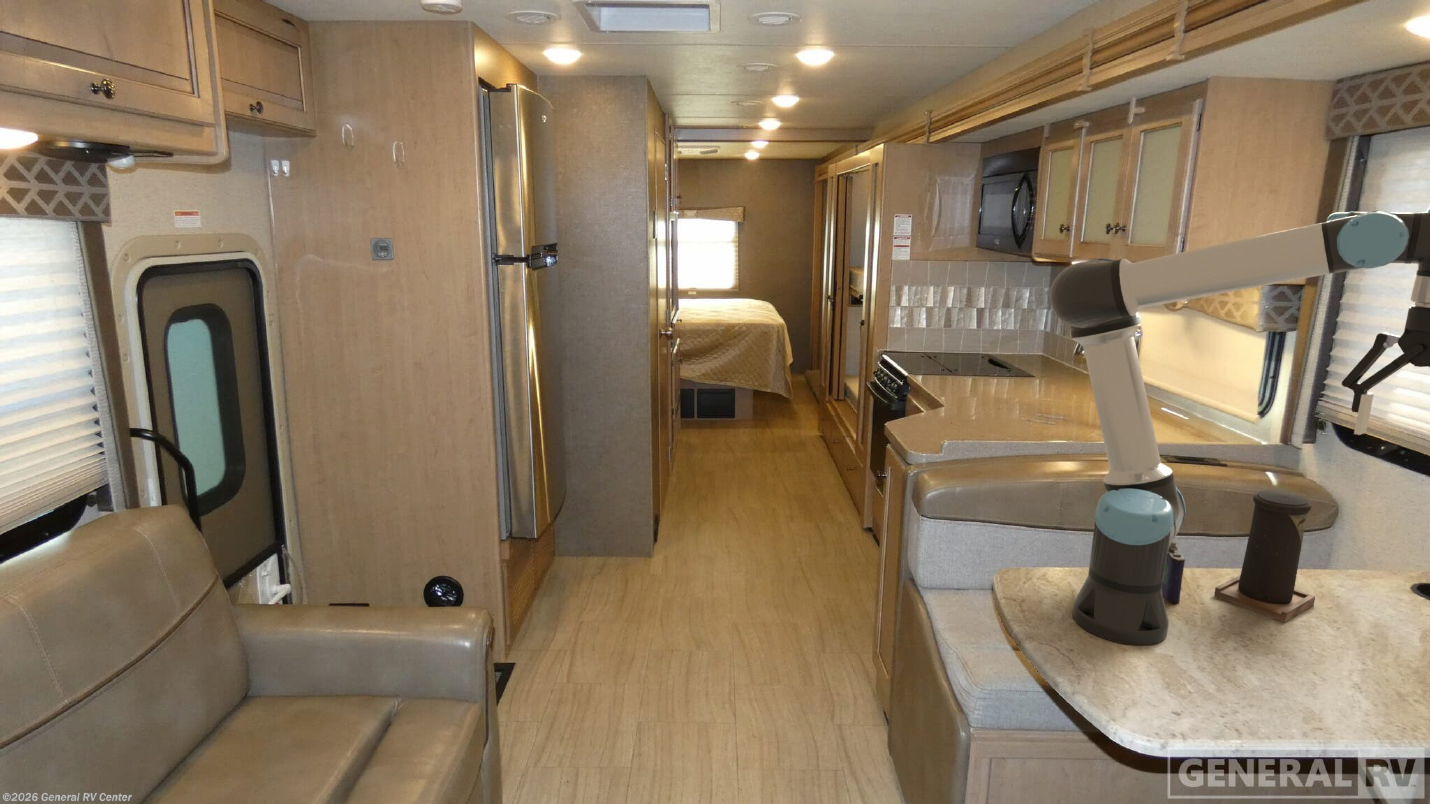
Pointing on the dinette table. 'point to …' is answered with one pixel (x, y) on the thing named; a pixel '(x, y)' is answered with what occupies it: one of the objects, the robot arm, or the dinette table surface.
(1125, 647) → the dinette table surface
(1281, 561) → the container
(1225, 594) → the square wooden tray
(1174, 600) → the flask
